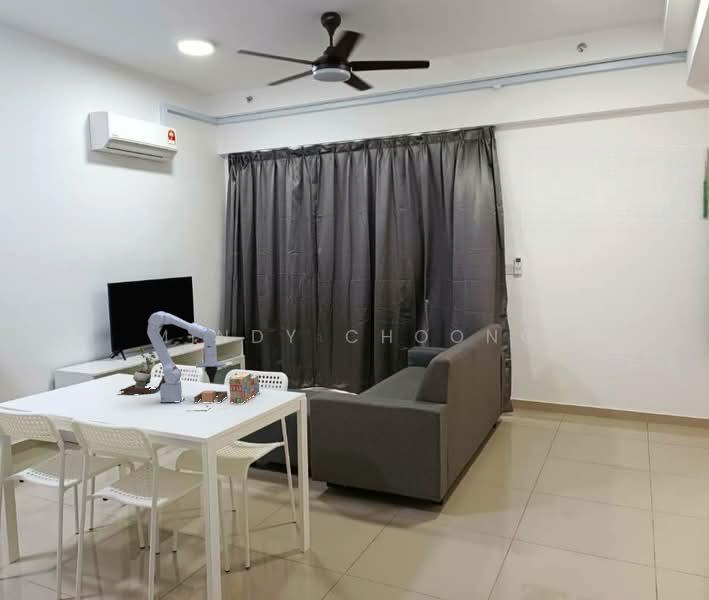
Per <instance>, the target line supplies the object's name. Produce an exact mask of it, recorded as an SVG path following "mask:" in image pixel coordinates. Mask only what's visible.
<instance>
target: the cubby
mask: <svg viewBox="0 0 709 600" xmlns="http://www.w3.org/2000/svg"><path fill="white" fill-rule="evenodd" d="M204 391H205V390H204ZM204 391H201V392H200V393H198V394H197V395H195V396H194V397H193V398H194V403H195V402H198V401H199V400H200V399H202V393H203V392H204ZM215 391H216V396H218V397H217V398H216V402H220V401H222V400H223V399H224V398H225V397H227V398H228V390H226V391H225V390H219V391H217V390H215ZM223 401H224V400H223ZM223 401H222V402H223ZM198 403H199V402H198Z"/></svg>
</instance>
